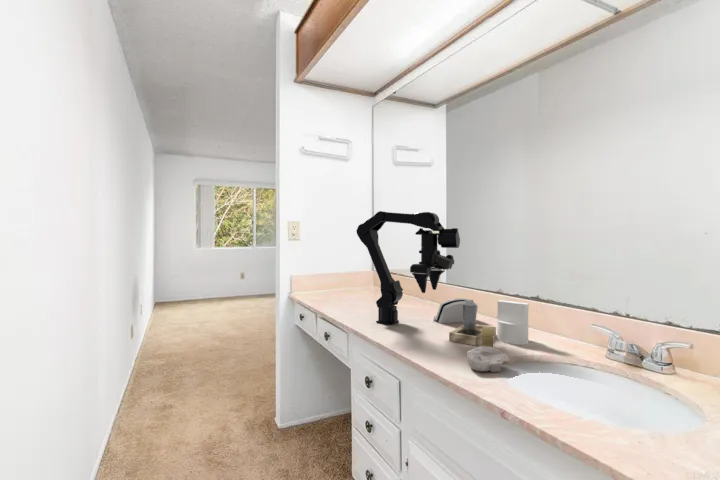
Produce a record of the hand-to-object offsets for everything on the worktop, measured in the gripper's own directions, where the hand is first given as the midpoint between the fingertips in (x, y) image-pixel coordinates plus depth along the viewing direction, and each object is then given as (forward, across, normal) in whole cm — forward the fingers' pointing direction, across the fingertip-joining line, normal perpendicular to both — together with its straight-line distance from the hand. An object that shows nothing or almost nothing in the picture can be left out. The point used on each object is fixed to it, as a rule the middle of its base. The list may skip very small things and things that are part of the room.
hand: (429, 291), depth 130 cm
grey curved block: (+13, +15, -5) cm, 21 cm away
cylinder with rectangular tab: (+13, +1, -28) cm, 31 cm away
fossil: (+13, -28, -28) cm, 42 cm away
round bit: (+13, -7, -17) cm, 22 cm away
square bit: (+13, -16, -25) cm, 32 cm away
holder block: (+13, -4, -17) cm, 22 cm away
